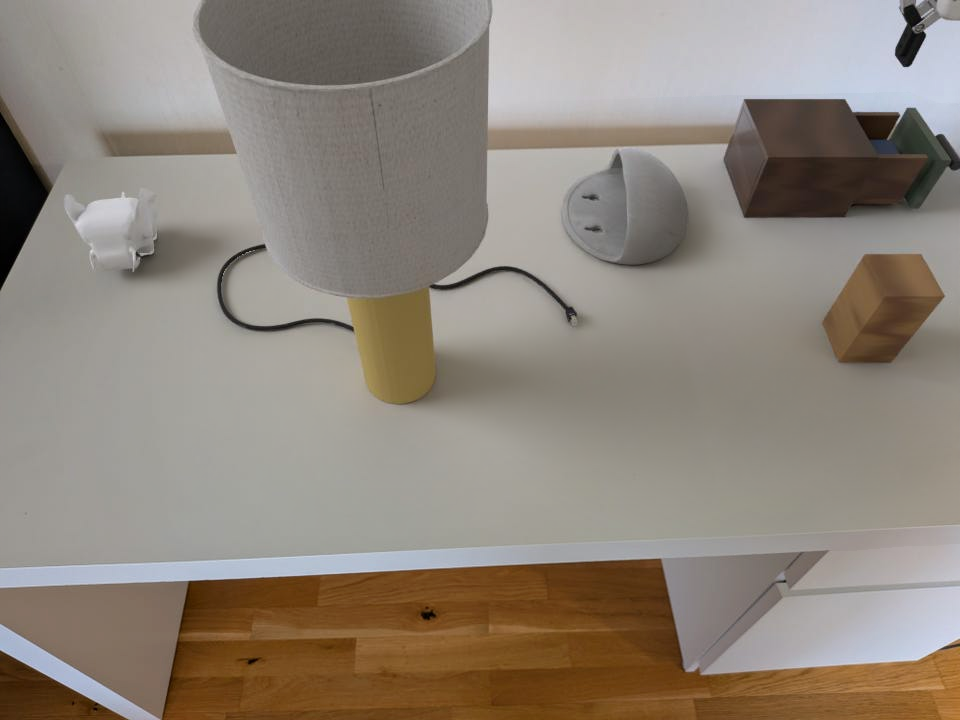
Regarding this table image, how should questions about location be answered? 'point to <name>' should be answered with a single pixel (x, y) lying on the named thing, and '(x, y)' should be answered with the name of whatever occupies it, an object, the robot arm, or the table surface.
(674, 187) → the planter
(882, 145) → the block
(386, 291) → the table lamp
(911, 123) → the drawer
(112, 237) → the elephant figurine
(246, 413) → the table surface
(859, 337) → the stand
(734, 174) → the cabinet
